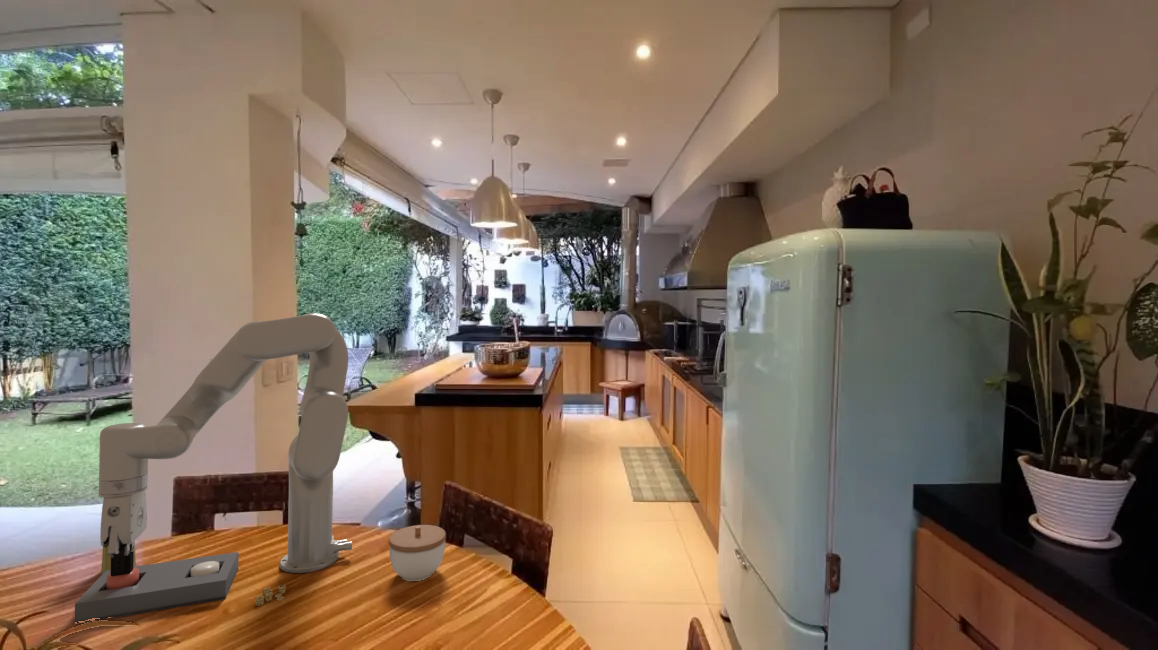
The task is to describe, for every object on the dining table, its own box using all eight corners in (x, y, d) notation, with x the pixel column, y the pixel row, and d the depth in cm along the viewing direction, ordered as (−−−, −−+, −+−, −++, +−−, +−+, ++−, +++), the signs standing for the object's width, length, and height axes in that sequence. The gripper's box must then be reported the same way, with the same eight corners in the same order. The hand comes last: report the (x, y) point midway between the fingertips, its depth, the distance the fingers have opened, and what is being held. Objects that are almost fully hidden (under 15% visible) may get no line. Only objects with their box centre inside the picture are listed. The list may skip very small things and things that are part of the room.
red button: (142, 580, 109) (142, 565, 109) (133, 592, 105) (133, 576, 105) (112, 585, 107) (112, 569, 107) (101, 597, 103) (102, 581, 103)
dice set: (254, 609, 105) (254, 600, 105) (260, 596, 110) (260, 587, 110) (283, 605, 107) (283, 595, 107) (287, 592, 112) (287, 583, 112)
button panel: (238, 568, 120) (238, 551, 120) (225, 598, 108) (225, 579, 108) (105, 589, 110) (106, 570, 110) (74, 624, 98) (74, 603, 98)
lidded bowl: (375, 581, 116) (376, 532, 116) (413, 557, 128) (414, 513, 128) (421, 593, 111) (422, 542, 111) (456, 567, 123) (456, 521, 123)
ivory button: (221, 573, 115) (221, 559, 115) (216, 584, 111) (216, 569, 111) (194, 578, 113) (194, 563, 113) (187, 589, 109) (187, 573, 108)
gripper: (133, 494, 101) (131, 587, 101) (158, 472, 114) (157, 555, 114) (82, 498, 97) (81, 595, 98) (115, 476, 111) (113, 560, 111)
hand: (122, 573), depth 106 cm, fingers closed
